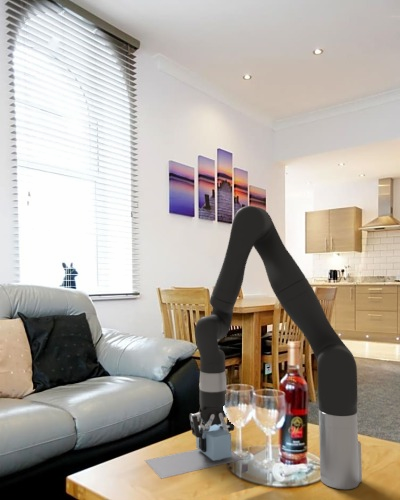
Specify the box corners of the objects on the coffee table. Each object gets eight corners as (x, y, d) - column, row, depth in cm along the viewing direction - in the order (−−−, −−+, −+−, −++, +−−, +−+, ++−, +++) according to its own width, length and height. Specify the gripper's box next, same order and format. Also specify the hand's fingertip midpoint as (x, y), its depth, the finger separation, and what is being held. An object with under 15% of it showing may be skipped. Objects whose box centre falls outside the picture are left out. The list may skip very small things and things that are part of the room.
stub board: (221, 449, 129) (221, 433, 129) (243, 464, 118) (243, 447, 118) (144, 465, 118) (144, 448, 118) (161, 484, 107) (161, 466, 107)
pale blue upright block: (213, 443, 127) (213, 422, 127) (231, 456, 118) (231, 433, 118) (196, 447, 124) (196, 426, 124) (213, 460, 115) (213, 437, 115)
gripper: (195, 393, 115) (196, 459, 114) (241, 387, 122) (242, 448, 121) (183, 387, 122) (184, 449, 121) (228, 381, 128) (229, 439, 127)
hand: (213, 448), depth 121 cm, fingers closed on pale blue upright block, 5 cm apart
